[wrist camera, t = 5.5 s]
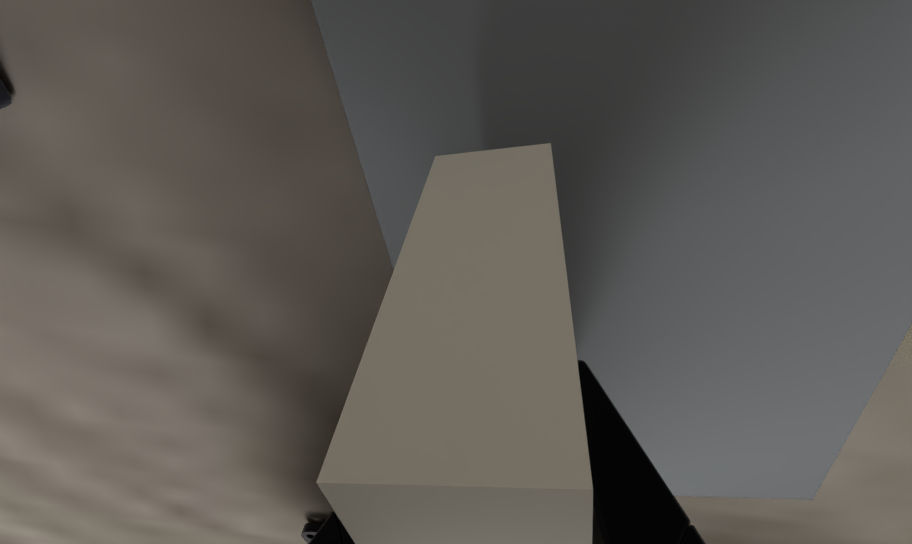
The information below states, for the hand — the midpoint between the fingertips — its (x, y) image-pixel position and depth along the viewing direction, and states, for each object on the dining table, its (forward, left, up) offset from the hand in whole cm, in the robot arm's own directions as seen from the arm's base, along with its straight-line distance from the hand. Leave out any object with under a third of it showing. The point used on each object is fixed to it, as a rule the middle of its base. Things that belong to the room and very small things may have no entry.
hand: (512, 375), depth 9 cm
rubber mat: (-1, -3, -3) cm, 5 cm away
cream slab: (0, 0, -2) cm, 2 cm away
